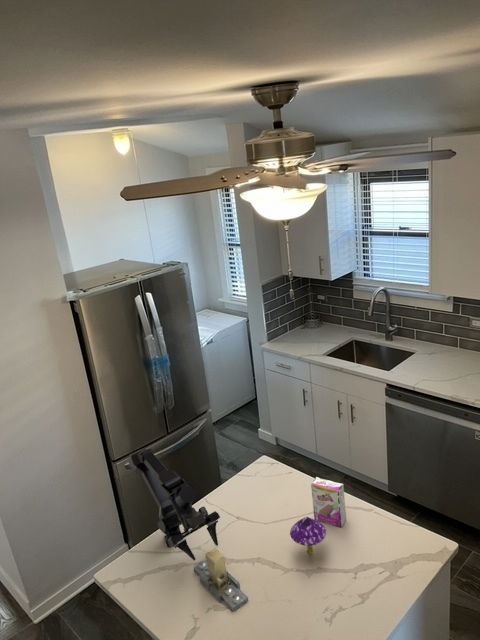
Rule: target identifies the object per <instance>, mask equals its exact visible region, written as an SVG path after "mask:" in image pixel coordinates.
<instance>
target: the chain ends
mask: <svg viewBox="0 0 480 640" xmlns="http://www.w3.org/2000/svg"><path fill="white" fill-rule="evenodd" d="M193 572H194V573H195V574H196V575H197V576H198V577H199V581H200V584H202V586H204V587H205V588H206V589H207V591H209V592H210V594H211V595H212V596H213V597H215V599H216V600H217V601H218V602H219V603H221V604H222V603H224V604H225V605H226V606H227V607H228V608H229V609H230V610H231V611H232V612H235V611H237V610H238V609H239V608H241V607H242V606H243V605H245V604H247V603H248V602H249V597H248V596H247V595H246V594H245V593H244V592H243V591H242V590H241V585H240V584H241V583H240V582H239V581H238V580H237V579H236V578H235V577H234V576H233V575H232V574H231V573H229V571H227V577H228V583H229V584H230V585H229V586H228V587H226V588H225V589H224V590H222V591H221V592H219V591H218V590H217V589H216V588H215V587H214V586H213V585H211V583H210V577H209V572H208V566H207V561H206V559H204V560H201V561H200V562H199V563H198V564H197V565H195V566H194V567H193Z"/></svg>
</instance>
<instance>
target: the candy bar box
mask: <svg viewBox="0 0 480 640" xmlns="http://www.w3.org/2000/svg"><path fill="white" fill-rule="evenodd" d="M310 485H311V487H310V488H311V497H312V505H313V506H312V507H313V517H314V518H313V519H314V520H317V521H319V522H320V523H324V524H327V525H332V526H335V527H336V528H337V527H338V528H342V527H343V526H344V524H345V523H346V521H347V516H346V515H347V514H346V502H345V501H346V499H345V487H344V483H340V482H337V481H332V480H328V479H325V478H321V477H318V476H316V477H315V478H314V480H313V481H311V484H310Z"/></svg>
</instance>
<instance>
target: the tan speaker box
mask: <svg viewBox="0 0 480 640" xmlns="http://www.w3.org/2000/svg"><path fill="white" fill-rule="evenodd" d="M205 560H206V561H207V566H208V572H209V577H210V583H211V585H213V586H214V587H215V588H216V589H217V590H218V591H219V592H221V591H222V590H224V589H225V588H226V587H228V586H230V585H229V584H230V582H228V577H227V572H228V570H227V566H226V561H225V560H226V559H225V555H224V554H223V553H222V552H221V551H220V550H218V549H217V548H216V547H214V548H212V549H211V550H209V551H208V552H207V553H205Z"/></svg>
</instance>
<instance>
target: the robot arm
mask: <svg viewBox="0 0 480 640" xmlns="http://www.w3.org/2000/svg"><path fill="white" fill-rule="evenodd" d="M154 453H155V452H154V451H153V449H152V448H142V449H139V450H137V451H135V452H132V453H130V454H129V457H128V459H127V462H128V465H129V466H130V468H132V469H133V471H134V472H135V473H136V474H138V475H141V477H142V479H143V481H144V483H145V484H146V486H147V487H148V490H149V492H150V493H151V495H152V497H153V499H154V501H155V504H156V505H157V507H158V509H159V510H158V511H159V513H158V518H159V521H158V522H157V523H156V524H157V527H158V530H160V531H161V532H162V533H163V534H164V540H165V544H166V547H167V548H170V549H171V548H173V547H174V549H179V550H181V551H182V552H184V553H185V554H186V555H187V556H188V557H190V558H191V559H192V560H193V561H195V560H196V557H195V555H194V553H193V550H191V548H190V546H189V544H188V542H187V538H186V537H188V536H190V535H191V534H193V533H195V532H196V531H198V530H200V529H202V528H203V527H205V526H207V527H206V530H207V533H208V535H209V536H210V538H211V540H212V541H213V543H214V545H215V546H216V547H218V546H219V543H218V542H219V541H218V536H217V523H219V519H221V516H220V514H219V512H217V511H212V512H210V514H209V512H208V510H207V508H206V507H205V506H201V507H200V508H198V511H197V510H196V508H195V507H193V506H192V503H193V502H195V500H196V498H197V491H196V489H195V488H193V486H191V485H189V483H188V481H186V480H185V479H184V478H183V477H182V476H181V475H179V474H177V473H176V472H175V471H174V470H170V469H169V470H168V469H167V467H166V466H165V465H164V464H163V463H162V461H160V459H159V458H158V457H157V455H155V454H154ZM181 525H182V527H183V532H182V530H181V527H180V526H181Z"/></svg>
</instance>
